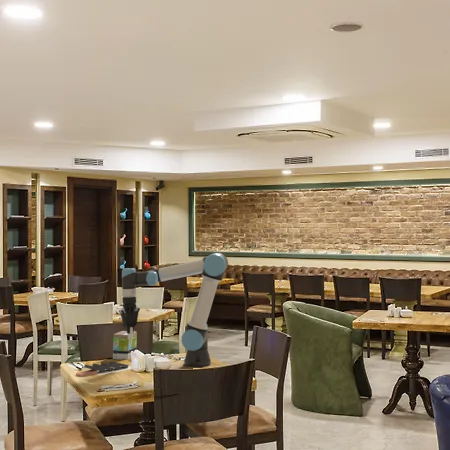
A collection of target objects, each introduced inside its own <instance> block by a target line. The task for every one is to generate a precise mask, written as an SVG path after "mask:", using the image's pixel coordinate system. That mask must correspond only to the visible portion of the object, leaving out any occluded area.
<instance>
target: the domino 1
mask: <svg viewBox="0 0 450 450" xmlns="http://www.w3.org/2000/svg"><path fill="white" fill-rule="evenodd" d="M75 375H76V376H77V377H81V378H84V377H87V376H88V377H89V376H93V375H98V371H97V370H93V369H87V370H83V371H79V372H76V373H75Z"/></svg>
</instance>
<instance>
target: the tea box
mask: <svg viewBox="0 0 450 450" xmlns="http://www.w3.org/2000/svg"><path fill="white" fill-rule="evenodd" d="M137 335H138V332H137V331H135V330H134V333H133V339H131V340H130V339H128V333H127V330H122V331H118V332H116V333H113V336H112V337H113V338H112V339H113V340H112V342H113V343H112V359H113V360H129V359H131V351H135V350H137V348H138V346H137V344H138V342H137V341H138V338H137V337H138V336H137Z"/></svg>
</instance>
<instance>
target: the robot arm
mask: <svg viewBox="0 0 450 450" xmlns="http://www.w3.org/2000/svg"><path fill="white" fill-rule="evenodd" d="M228 266H229V260H228V258H227V257H226V256H225V254H223V253H221V252H215V253H211V254H209V255H207V256H204V257H202V258H201V259H198V260H193V261H190V262H184V263H180V264H175V265H169V266H166V267H161V268H156V269H155V268H154V269H149V270H147V271H136V268H134V267H133V268H132V267H131V268H129V267H126V268H122V269H121V287H122V288H121V291H122V292H121V293H122V294H121V295H122V300H121V301H122V304H123V305H122V308H121V309H119V310H118V312H119V314H120V316H121V321H122V326H123V327H125V328H126V331H127V333H128V339H130V340H131V339H133V333H134V331H135V329H134V328H135V327H136V326H137V324H138V319H139V312H140V310H141V308H140V307H138V306H137V304H136V303H137V286H156V285H158V283H161V282H166V281H169V280H174V279H181V278H185V277H189V276H190V277H191V276H195V275H199V274H201V277H202V282H201V285H200V289H199V292H198V294H197V299H196V302H195V305H194V308H193V311H192V316H191V319H190V320H189V321H187V323H186V326H185V330H184V332H183V334H182V336H181V343H182V346H183V347H184V348H185V349H186V354H185V358H184V359H183V365H184V366H188V367H205V366H210V365H211V364H212V359H211V357H210V353H209V349H208V347H209V346H208V343H209V342H208V339H209V338H208V334H209V331H208V330H209V327H208V326H209V325H208V323H207V322H208V318H209V316H210V312H211V310H212V305H213V302H214V298H215V296H216V295H215V294H216V292H217V289H218V284H219V283H221V282H223V278H224V275H225V272H226V270H227V268H228Z"/></svg>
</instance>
